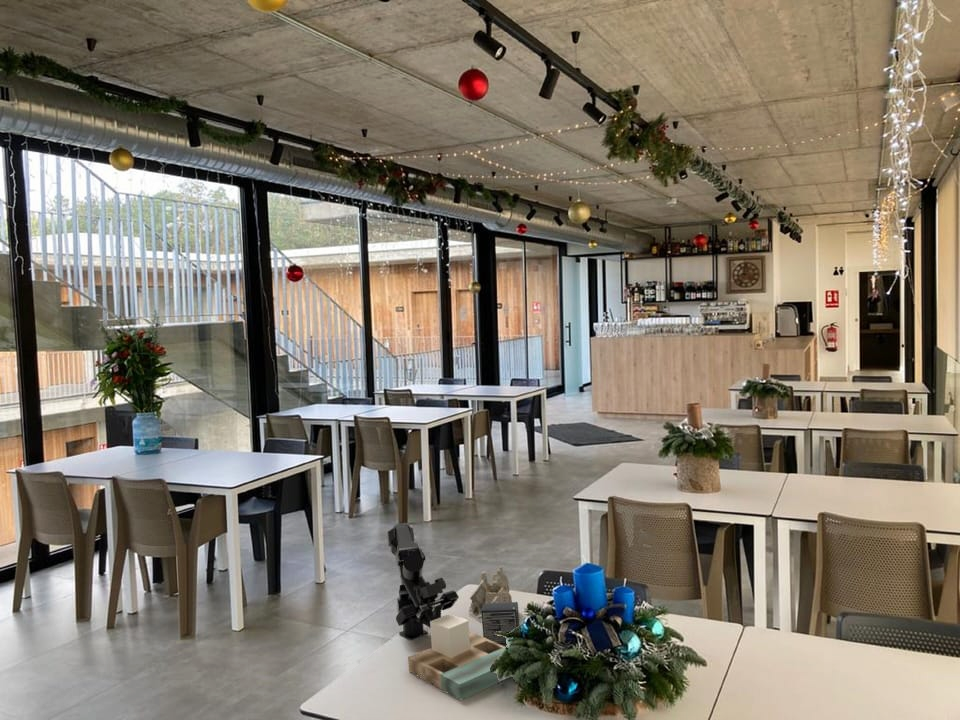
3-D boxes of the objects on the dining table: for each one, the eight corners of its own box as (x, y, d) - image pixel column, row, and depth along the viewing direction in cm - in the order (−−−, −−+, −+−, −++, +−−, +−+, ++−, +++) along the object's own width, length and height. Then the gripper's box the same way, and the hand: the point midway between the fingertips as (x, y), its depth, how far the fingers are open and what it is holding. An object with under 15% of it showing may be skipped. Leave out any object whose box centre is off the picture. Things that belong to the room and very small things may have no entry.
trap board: (408, 671, 206) (407, 656, 205) (472, 645, 219) (471, 631, 219) (460, 700, 188) (459, 684, 188) (526, 670, 202) (525, 655, 201)
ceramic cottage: (476, 604, 252) (473, 560, 250) (523, 610, 245) (520, 565, 244) (457, 625, 237) (454, 579, 236) (506, 632, 231) (503, 585, 229)
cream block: (432, 650, 209) (430, 621, 208) (451, 641, 213) (449, 613, 213) (451, 658, 203) (448, 628, 202) (470, 649, 208) (468, 620, 207)
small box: (520, 635, 224) (518, 600, 224) (519, 645, 218) (517, 609, 217) (485, 636, 225) (482, 602, 225) (483, 646, 219) (480, 610, 218)
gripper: (398, 579, 209) (424, 629, 201) (452, 562, 221) (479, 609, 213) (385, 600, 216) (409, 650, 207) (438, 583, 227) (463, 629, 219)
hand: (441, 634), depth 211 cm, fingers closed
